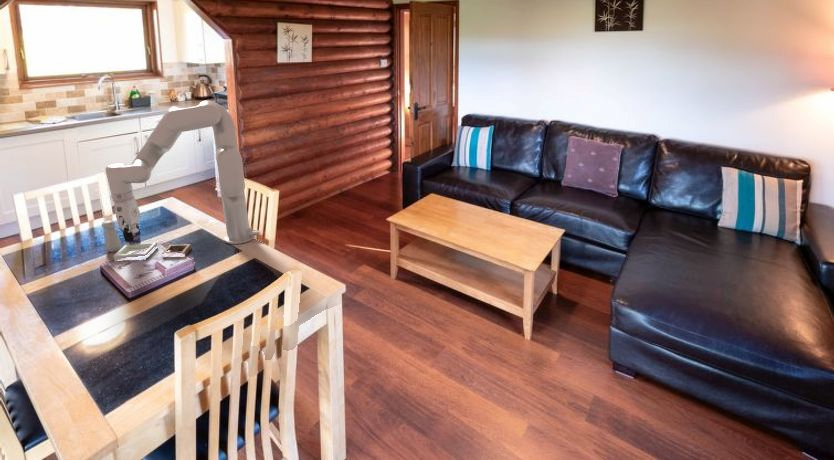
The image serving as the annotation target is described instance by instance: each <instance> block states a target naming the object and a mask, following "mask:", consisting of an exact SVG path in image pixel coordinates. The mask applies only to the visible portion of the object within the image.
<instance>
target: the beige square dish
mask: <svg viewBox="0 0 834 460" xmlns="http://www.w3.org/2000/svg"><path fill="white" fill-rule="evenodd" d="M168 250H172V251H171V252H166V251H168ZM181 250H182V251H181ZM191 250H192V244H189V243H187V244H186V243H183V244H169V245H168V246H167V247H166V248H165V250H164V251H163V252H162V253H161V255H162V254H164V253H177V252H178V251H181V252H182V253H185V254H187V255H188V253H189V252H190V251H191Z"/></svg>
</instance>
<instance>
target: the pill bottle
mask: <svg viewBox="0 0 834 460" xmlns="http://www.w3.org/2000/svg"><path fill="white" fill-rule="evenodd" d="M124 225H127V224H126V223H124ZM124 227H125V228H127V226H124ZM127 229H128V228H127ZM130 230H131V232H132V234H133V239H134V241H129V242H126V241H125V245H127V246H130V247H133V246H138V245H140V244H141V243H142V241H141V237H140V236H141V233H140V234H139V230H140V228H139V229H138V228H136V223H134V224H133V225H131V226H130Z"/></svg>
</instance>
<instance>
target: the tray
mask: <svg viewBox="0 0 834 460" xmlns="http://www.w3.org/2000/svg"><path fill="white" fill-rule="evenodd" d="M157 245H158V242H157V241H156V242H155V241H154V242H141V244H140V245H138V246H133V247H130V246H127V245H126V244H125V245H123V247H122V246H121V249H120V250H119V251H117V252H115V254H113V260H114V261H115V260H118V259H121V258H126V257H138V256H145V255H147V254H148V253H149V252H150V251H151V250H152V249H153V248H154V247H156V246H157ZM145 248H148V249H147V250H146V251H145V252H144V253H143V254H131V253H133V252H135V251H138V250H141V249H145Z"/></svg>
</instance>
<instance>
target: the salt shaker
mask: <svg viewBox="0 0 834 460" xmlns="http://www.w3.org/2000/svg"><path fill="white" fill-rule="evenodd" d="M101 227H102V228H103V229H104V238H105V242H104V243H105V249H106V250H108V252H109V253H117V252H118V251H119V250H120V249H121V248H122V244H123V243H122V241H121V239H120V238H119V235H118V233H117V231H116V230H115V222H114V221H113V220H105V221H103V222H102V223H101Z"/></svg>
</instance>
